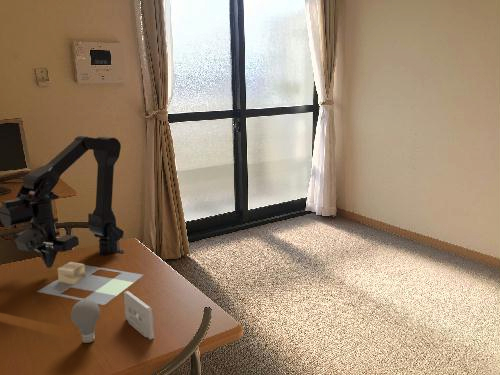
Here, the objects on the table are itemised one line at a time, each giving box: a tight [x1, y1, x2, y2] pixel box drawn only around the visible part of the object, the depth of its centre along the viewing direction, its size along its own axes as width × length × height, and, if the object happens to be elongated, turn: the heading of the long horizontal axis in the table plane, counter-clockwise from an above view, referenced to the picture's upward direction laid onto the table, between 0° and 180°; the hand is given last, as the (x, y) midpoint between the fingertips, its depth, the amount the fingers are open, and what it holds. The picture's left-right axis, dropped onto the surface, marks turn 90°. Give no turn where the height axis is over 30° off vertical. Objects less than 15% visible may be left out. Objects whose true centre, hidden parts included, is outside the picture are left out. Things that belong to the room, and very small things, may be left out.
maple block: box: [57, 261, 86, 284], centre depth 120 cm, size 5×5×4 cm
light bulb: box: [70, 298, 101, 344], centre depth 93 cm, size 6×6×10 cm
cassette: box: [123, 290, 155, 340], centre depth 98 cm, size 12×2×8 cm, turn 43°
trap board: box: [36, 264, 144, 306], centre depth 119 cm, size 18×22×2 cm
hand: (49, 267), depth 123 cm, fingers closed
